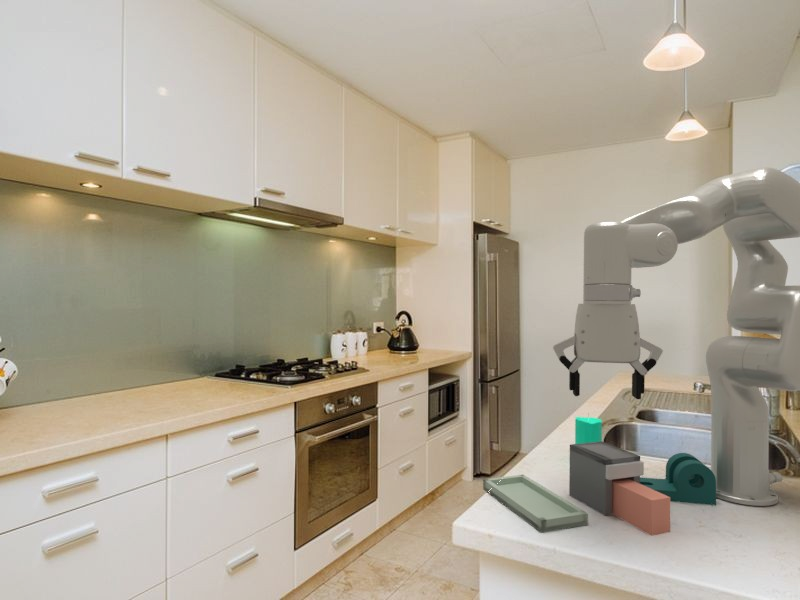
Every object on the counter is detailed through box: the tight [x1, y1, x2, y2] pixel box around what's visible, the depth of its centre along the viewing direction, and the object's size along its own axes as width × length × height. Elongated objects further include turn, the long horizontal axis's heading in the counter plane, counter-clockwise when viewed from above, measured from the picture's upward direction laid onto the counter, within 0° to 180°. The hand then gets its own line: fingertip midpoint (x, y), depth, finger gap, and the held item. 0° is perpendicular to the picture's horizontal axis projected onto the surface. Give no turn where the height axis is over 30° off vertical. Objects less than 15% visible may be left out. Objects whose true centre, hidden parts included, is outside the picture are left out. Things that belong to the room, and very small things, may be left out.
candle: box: [574, 412, 603, 444], centre depth 119 cm, size 6×6×12 cm
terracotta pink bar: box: [612, 478, 671, 536], centre depth 90 cm, size 4×16×6 cm, turn 19°
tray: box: [482, 474, 589, 534], centre depth 94 cm, size 9×20×2 cm, turn 19°
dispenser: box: [568, 441, 644, 517], centre depth 95 cm, size 11×8×10 cm
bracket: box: [640, 452, 717, 506], centre depth 100 cm, size 18×7×8 cm, turn 79°
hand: (605, 396), depth 85 cm, fingers open, 9 cm apart
